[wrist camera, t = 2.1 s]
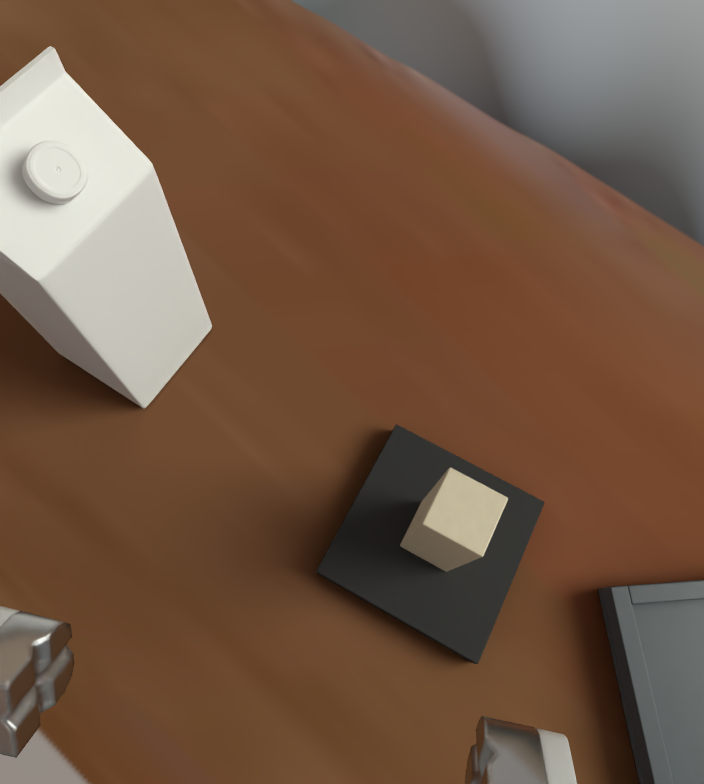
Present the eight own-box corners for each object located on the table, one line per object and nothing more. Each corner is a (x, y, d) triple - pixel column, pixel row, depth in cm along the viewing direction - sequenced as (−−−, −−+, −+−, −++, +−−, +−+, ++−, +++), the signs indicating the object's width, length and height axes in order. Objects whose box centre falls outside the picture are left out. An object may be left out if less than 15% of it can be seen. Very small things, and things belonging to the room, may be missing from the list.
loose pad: (472, 663, 32) (526, 677, 24) (316, 573, 34) (314, 556, 25) (537, 505, 36) (605, 468, 27) (394, 429, 37) (415, 372, 29)
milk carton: (59, 354, 38) (-169, 121, 20) (131, 277, 40) (-17, 8, 23) (145, 410, 37) (-17, 215, 19) (214, 327, 39) (126, 86, 21)
